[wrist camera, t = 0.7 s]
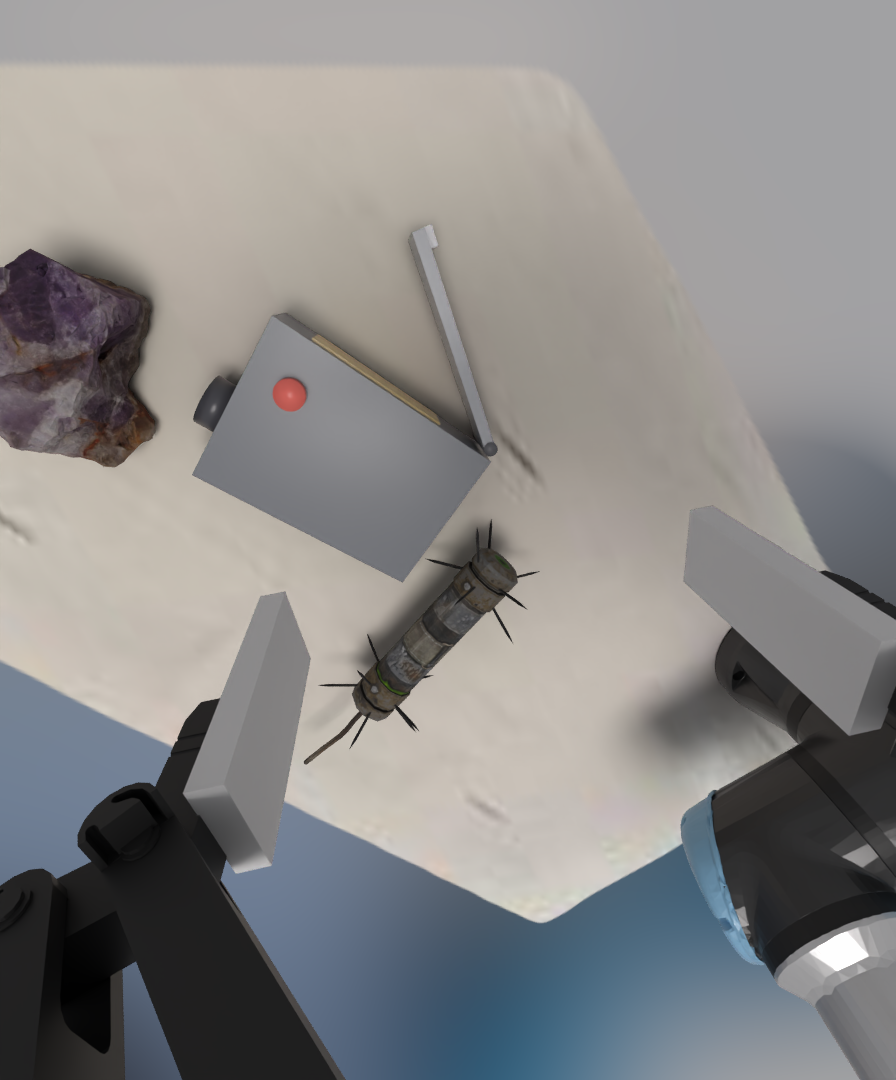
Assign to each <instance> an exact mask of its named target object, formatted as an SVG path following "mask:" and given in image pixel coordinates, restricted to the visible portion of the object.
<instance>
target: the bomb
mask: <svg viewBox="0 0 896 1080" xmlns="http://www.w3.org/2000/svg"><path fill="white" fill-rule="evenodd" d="M491 533H492V519H491V523H490V528H489V541H488V549H485V548H481V549H480V550H479V535H478V529H477V533H476V543H477V553H476V555H475V556H474V557H473V558H472V562H468V563H467V564H466V565H465V566H464V567H460V566H456V565H452V564H448V563H444V562H440V561H436V560H430V559H427V560H429V561H432V562H434V563H438V564H442V565H446V566H450V567H454V568H458V569H461V571H460V572H459V573H458V574H457V575H456V576H455V577H454V581H453V582H452V583H451V584H450V586H449V587H448V588H447V589H446V590H445V591H444V592H443V593H442V594H441V595H440V596H439V598H438V599H437V600H436V601H435V602H434V603H433V604H432V605H431V606H430V607H429V608H428V610H427V611H426V612H425V613H424V614H423V615H422V616H421V617H420V618H419V619H418V620H417V622H416V623H415V624H414V625H413V626H412V627H411V628H410V629H409V630H408V631H407V632H406V634H405V635H404V636H403V637H402V638H401V639H400V640H399V641H398V642H397V643H396V644H395V646H394V647H393V648H392V649H391V650H390V651H389V652H388V653H387V654H386V655H385V656H384V658H383V659H382V660H381V661H379V659H378V656H377V654H376V652H375V649H374V647H373V644H372V642H371V640H370V638H369V636H368V639H369V643H370V645H371V647H372V650H373V652H374V655H375V657H376V660H377V662H376V663H375V665H374V666H373V667H372V668H371V669H370V670H369V671H368V672H367V673H366V674H365V676H364V675H363V674H362V673H360V672H359V671H358V670H357V671H358V673H359V675H360V676H361V677H362V679H361V680H360V681H359V682H358V684H325V685H319V686H355V688H354V690H353V693H352V696H353V699H354V702H355V705H356V708H357V709H358V710H359V712H358V713H357V714H356V715H355V717H354V718H353V719H352V720H351V721H350V722H349V724H348V725H347V726H346V727H345V728H344V729H343V730H342V731H341V732H340V733H339V734H338V735H337V736H335V737H334V738H333V739H331V740H330V741H329V742H327V743H326V744H325V745H323V746H322V747H321V748H319V749H318V750H317V751H316V752H314V753H313V754H312V755H310V756H309V757H308V758H307V759H306V760H305V761H304V764H306V765H307V764H308V763H309V762H310V761H312V760H313V759H314V758H316V757H317V756H318V755H319V754H321V753H322V752H323V751H324V750H326V749H327V748H328V747H330V746H331V745H332V744H334V743H335V742H337V741H338V740H339V739H341V738H342V737H343V736H344V735H345V734H346V733H347V732H348V731H349V730H350V729H351V727H352V726H353V725H354V724H355V722H356V721H357V720H358V719H359V718H360V717H361V716H362V715H364V716H365V717H366V719H365V720H364V722H363V724H362V726H361V727H360V729H359V731H358V733H357V735H356V736H355V738H354V740H353V742H352V745H353V744H354V742H355V741H356V740H357V738H358V736H359V734H360V732H361V731H362V729H363V727H364V725H365V723H366V722H367V720H368V718H370V719H373V720H375V721H380V720H383V719H385V718H387V717H388V716H389V715H390V714H391V713H392V712H393V711H394V709H396V710H397V711H398V712H399V714H400V715H401V716H402V717H403V719H404V720H405V721H406V722H407V724H408V725H409V726H410V727H411V728H412V729H413V730H414V728H413V726H414V727H415V728H416V729H417V727H416V726H415V725H414V723H413V722H412V721H411V720H410V719H409V718H408V717H407V716H406V715H405V713H404V712H403V711H402V710H401V709H400V708H399V707H398V706H399V705H400V704H401V703H402V702H403V701H404V700H405V699H406V698H407V697H408V696H409V695H410V691H411V690H412V689H413V688H414V687H415V686H416V685H417V684H418V683H419V681H420V680H421V679H423V678H427V677H430V676H433V675H429V676H425V675H426V674H427V673H428V672H429V671H430V670H431V669H432V668H433V667H434V666H435V665H436V664H437V663H438V662H439V661H440V660H441V659H442V658H443V657H444V656H445V655H446V654H447V653H448V652H449V650H450V649H451V648H452V647H453V646H454V645H455V644H456V643H457V642H458V641H459V640H460V639H461V638H462V637H463V636H464V635H465V634H466V633H467V632H468V631H469V630H470V629H471V628H472V627H473V626H474V625H475V624H476V623H477V622H478V621H479V619H480V618H481V617H482V616H483V615H484V614H485V613H486V612H490V611H491V610H493V611H494V613H495V615H496V617H497V619H498V620H499V622H500V624H501V626H502V628H503V629H504V631H505V633H506V635H507V636H508V637H509V639H510V640H511V638H510V635H509V633H508V631H507V630H506V628H505V626H504V624H503V622H502V621H501V619H500V617H499V615H498V613H497V612H496V610H495V608H494V607H495V606H496V605H497V604H498V603H499V602H500V601H501V600H502V599H503V598H504V597H505V595H506V596H507V597H508V598H510V599H511V600H513V601H514V602H515V603H517V604H518V605H520V606H522V607H524V606H523V605H522V604H521V603H520V602H519V601H517V600H516V599H515V598H513V597H512V596H510V595H509V594H507V593H506V592H509V591H510V590H511V589H512V588H513V587H514V586H515V585H516V584H517V583H518V581H517V578H520V577H524V576H528V575H532V574H534V573H537V572H532V573H527V574H523V575H519V576H517V574H516V571H515V569H514V568H513V567H512V565H511V564H510V563H509V562H508V561H507V560H506V559H505V558H504V557H503V556H501V555H500V554H499V553H497V552H496V551H494V550H492V549H490V546H491ZM538 572H540V571H538ZM524 608H525V607H524ZM525 609H526V608H525ZM367 635H368V634H367ZM511 642H512V640H511ZM512 643H513V642H512ZM417 730H418V729H417ZM414 731H415V730H414ZM418 731H419V730H418ZM415 732H416V731H415ZM352 745H351V747H352ZM351 747H350V748H351Z"/></svg>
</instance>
